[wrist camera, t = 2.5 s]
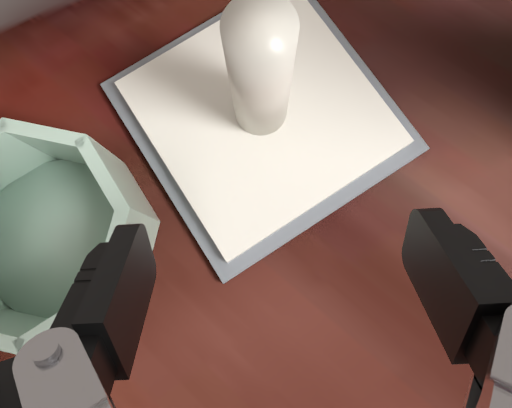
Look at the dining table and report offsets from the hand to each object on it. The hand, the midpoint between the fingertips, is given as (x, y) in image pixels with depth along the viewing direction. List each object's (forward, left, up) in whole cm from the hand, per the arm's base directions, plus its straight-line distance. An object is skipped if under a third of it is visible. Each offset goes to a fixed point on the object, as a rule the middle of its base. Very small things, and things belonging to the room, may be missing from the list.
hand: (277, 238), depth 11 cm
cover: (-5, -9, -14) cm, 17 cm away
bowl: (+11, -9, -14) cm, 20 cm away
